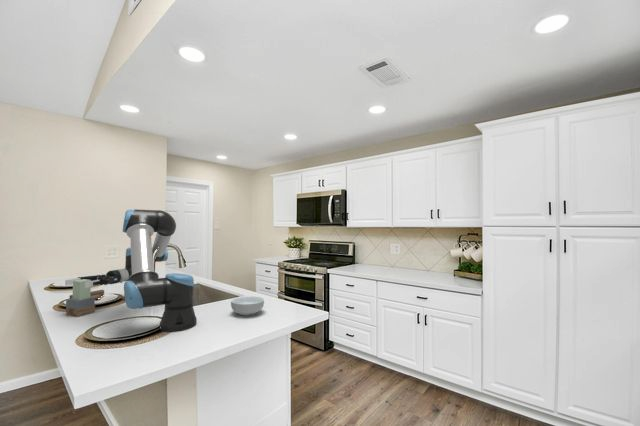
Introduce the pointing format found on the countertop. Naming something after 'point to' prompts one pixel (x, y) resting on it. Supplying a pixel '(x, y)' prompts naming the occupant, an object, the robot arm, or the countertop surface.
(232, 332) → the countertop surface
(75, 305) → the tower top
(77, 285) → the green pillar
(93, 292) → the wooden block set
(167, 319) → the robot arm
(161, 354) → the countertop surface
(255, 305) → the cereal bowl
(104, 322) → the countertop surface
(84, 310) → the tower base
